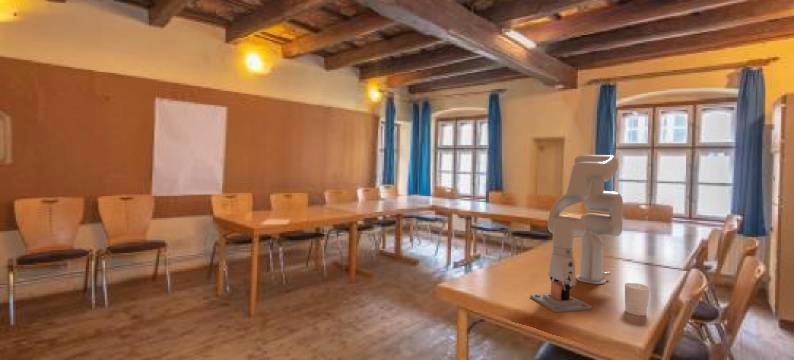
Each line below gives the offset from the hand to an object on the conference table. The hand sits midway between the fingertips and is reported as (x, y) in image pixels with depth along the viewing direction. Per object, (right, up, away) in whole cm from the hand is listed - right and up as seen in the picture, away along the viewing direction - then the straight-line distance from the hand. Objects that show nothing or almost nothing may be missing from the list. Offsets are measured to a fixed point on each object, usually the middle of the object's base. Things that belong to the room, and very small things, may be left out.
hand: (560, 296), depth 154 cm
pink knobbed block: (0, -1, 0) cm, 1 cm away
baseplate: (0, -3, 0) cm, 3 cm away
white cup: (+25, -4, -8) cm, 26 cm away
